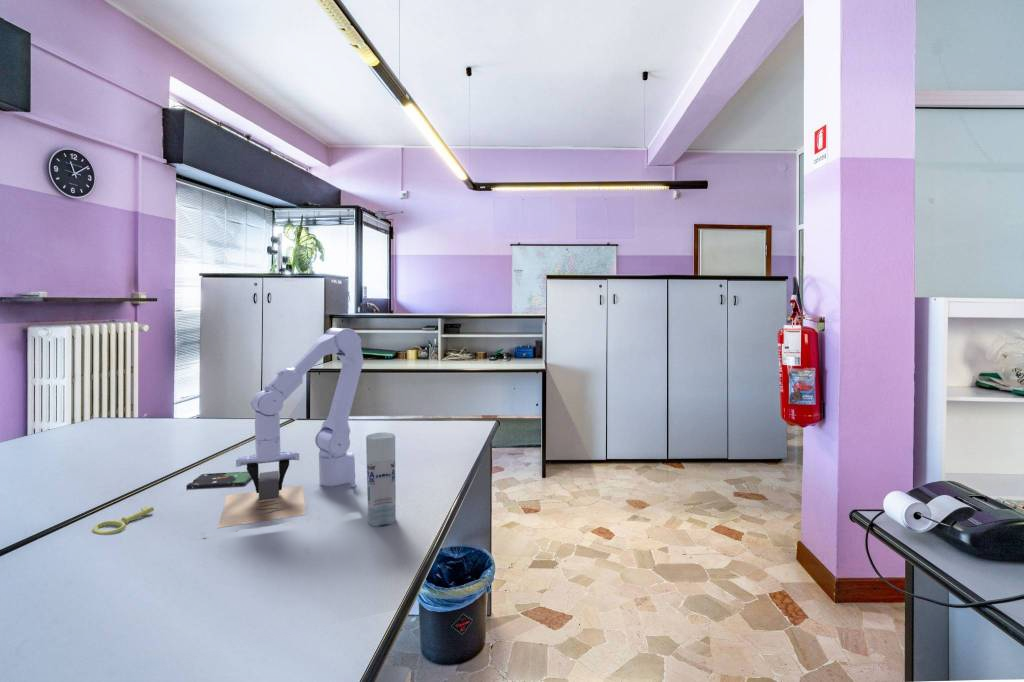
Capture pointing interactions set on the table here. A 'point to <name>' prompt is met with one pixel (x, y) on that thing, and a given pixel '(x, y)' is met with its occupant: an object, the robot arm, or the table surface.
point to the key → (121, 521)
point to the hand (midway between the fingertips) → (269, 490)
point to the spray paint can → (381, 478)
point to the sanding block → (268, 486)
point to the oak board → (262, 507)
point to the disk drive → (220, 480)
